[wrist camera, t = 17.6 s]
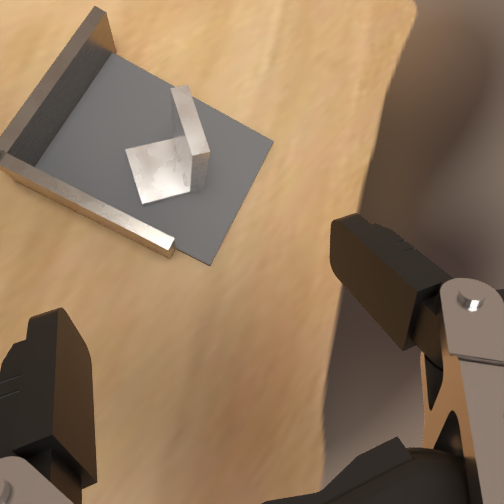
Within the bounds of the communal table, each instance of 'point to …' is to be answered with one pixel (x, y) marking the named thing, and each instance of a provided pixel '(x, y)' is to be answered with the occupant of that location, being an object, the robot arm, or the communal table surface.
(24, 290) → the communal table surface
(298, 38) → the communal table surface
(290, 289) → the communal table surface
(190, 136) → the aluminium bracket
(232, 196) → the corner mat
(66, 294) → the communal table surface
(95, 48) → the corner walls
